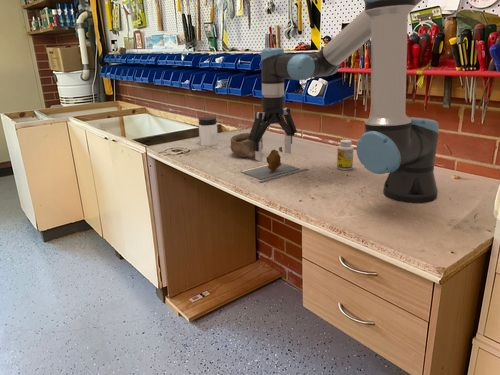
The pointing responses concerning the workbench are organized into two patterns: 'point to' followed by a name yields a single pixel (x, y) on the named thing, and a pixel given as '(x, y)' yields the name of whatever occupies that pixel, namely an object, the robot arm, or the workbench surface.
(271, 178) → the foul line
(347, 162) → the supplement bottle
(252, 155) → the bowl
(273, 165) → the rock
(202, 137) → the jar
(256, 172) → the mat
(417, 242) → the workbench surface
